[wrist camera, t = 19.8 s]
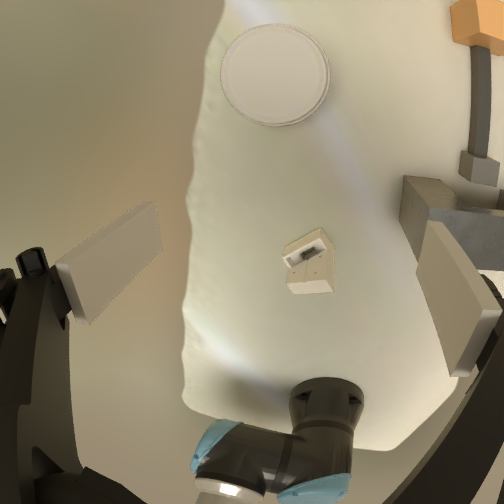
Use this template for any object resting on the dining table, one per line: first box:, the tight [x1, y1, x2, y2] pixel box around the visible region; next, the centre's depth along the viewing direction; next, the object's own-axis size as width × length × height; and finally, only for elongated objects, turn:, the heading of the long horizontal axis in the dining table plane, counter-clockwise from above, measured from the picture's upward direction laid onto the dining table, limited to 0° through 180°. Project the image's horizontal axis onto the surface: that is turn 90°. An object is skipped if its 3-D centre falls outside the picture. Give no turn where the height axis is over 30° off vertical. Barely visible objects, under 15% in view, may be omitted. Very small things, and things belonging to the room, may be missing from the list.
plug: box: [450, 0, 504, 187], centre depth 23 cm, size 22×7×8 cm, turn 2°
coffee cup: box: [220, 24, 330, 126], centre depth 27 cm, size 9×9×12 cm
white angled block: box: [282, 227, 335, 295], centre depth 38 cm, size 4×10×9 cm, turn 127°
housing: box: [399, 176, 504, 271], centre depth 28 cm, size 6×20×12 cm, turn 93°
